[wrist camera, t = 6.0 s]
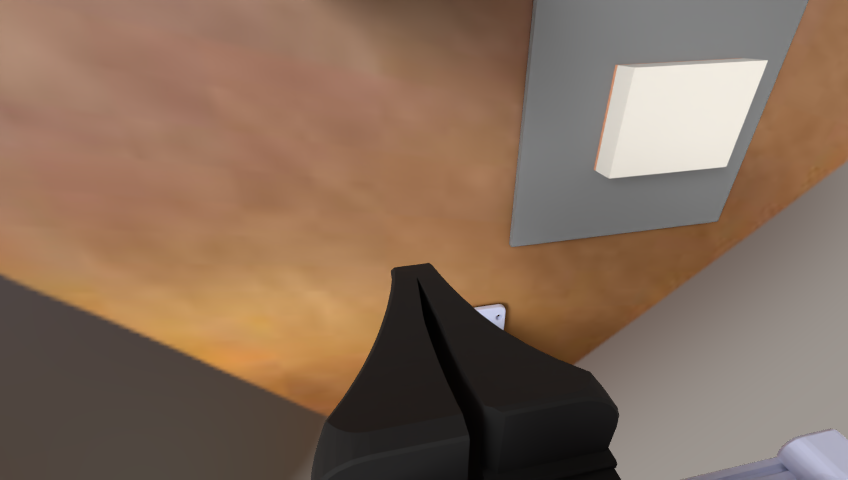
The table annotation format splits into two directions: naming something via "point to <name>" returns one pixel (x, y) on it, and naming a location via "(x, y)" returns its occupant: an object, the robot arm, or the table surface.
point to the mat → (587, 101)
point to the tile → (675, 115)
